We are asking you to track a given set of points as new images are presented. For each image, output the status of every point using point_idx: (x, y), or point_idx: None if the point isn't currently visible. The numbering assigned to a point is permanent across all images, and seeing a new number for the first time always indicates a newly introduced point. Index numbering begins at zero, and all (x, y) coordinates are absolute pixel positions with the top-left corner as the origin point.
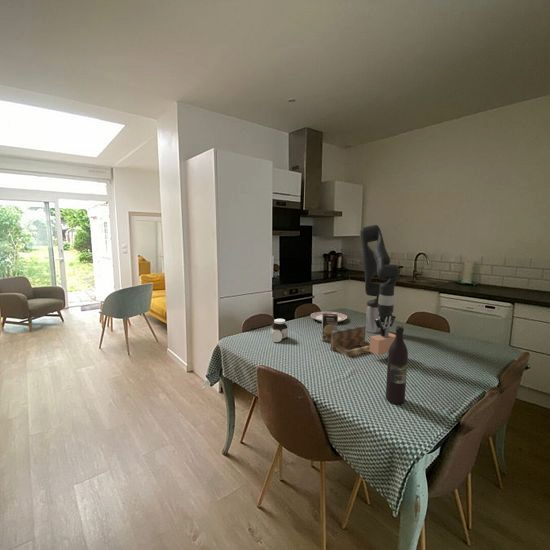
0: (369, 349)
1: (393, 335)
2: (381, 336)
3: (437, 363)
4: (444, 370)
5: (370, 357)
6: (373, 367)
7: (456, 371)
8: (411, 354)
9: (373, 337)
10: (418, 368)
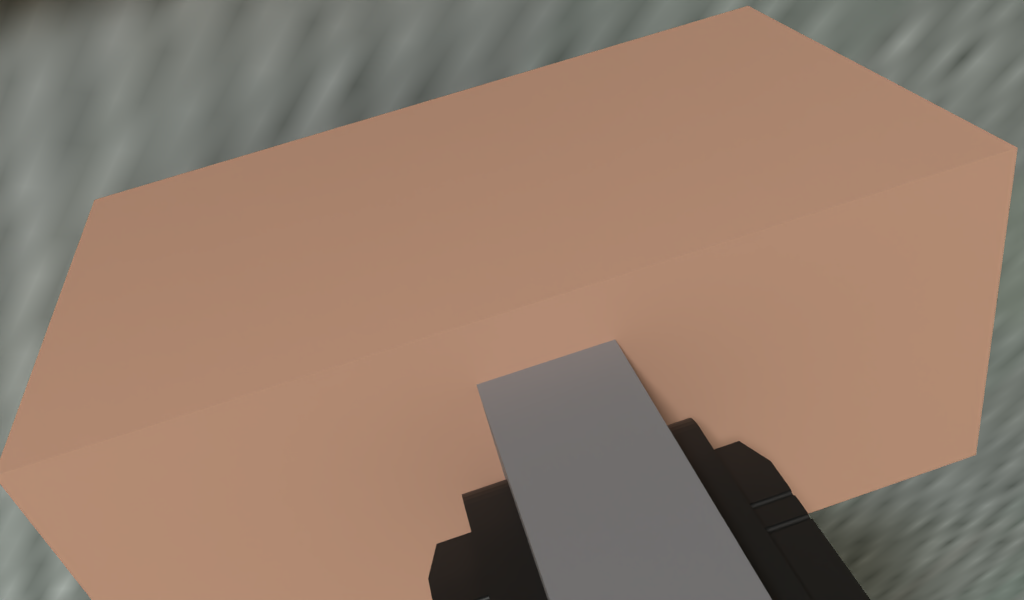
0: (87, 222)
1: (897, 419)
2: (476, 467)
3: (1014, 423)
4: (908, 562)
5: (166, 114)
6: None
7: (986, 578)
8: (1006, 123)
9: (119, 532)
10: None
